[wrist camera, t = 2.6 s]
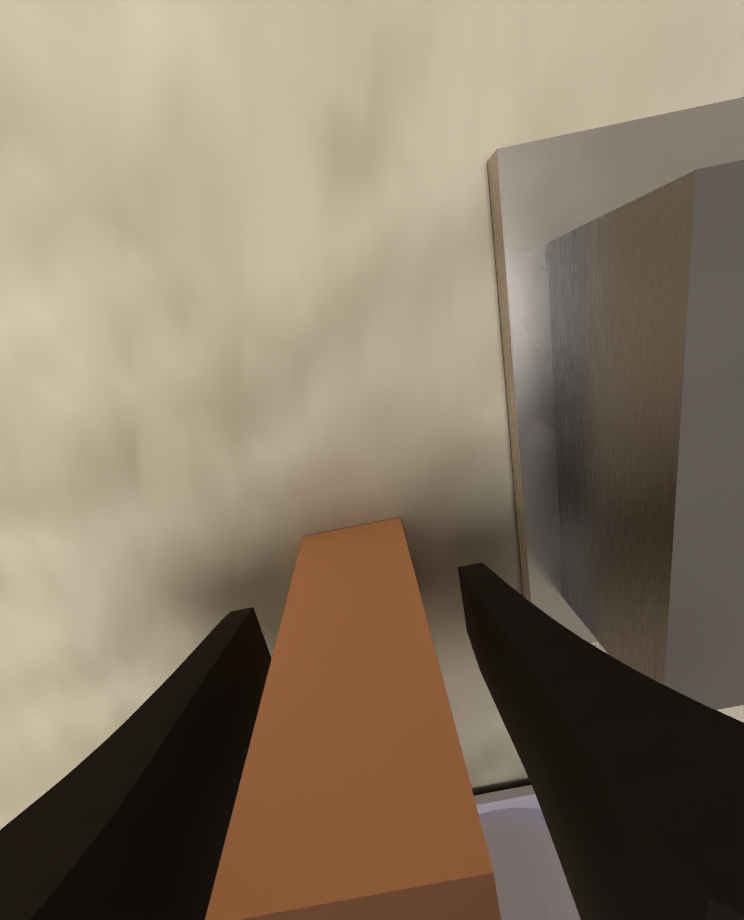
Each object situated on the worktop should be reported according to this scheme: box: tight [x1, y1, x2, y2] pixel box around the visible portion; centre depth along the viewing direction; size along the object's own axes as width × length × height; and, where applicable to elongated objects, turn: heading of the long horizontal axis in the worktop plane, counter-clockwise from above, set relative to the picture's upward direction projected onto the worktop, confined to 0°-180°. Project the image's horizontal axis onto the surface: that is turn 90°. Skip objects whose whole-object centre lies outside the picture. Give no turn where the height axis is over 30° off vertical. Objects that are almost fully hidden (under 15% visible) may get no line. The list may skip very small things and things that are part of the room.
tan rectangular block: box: [205, 517, 501, 920], centre depth 8 cm, size 3×3×8 cm
